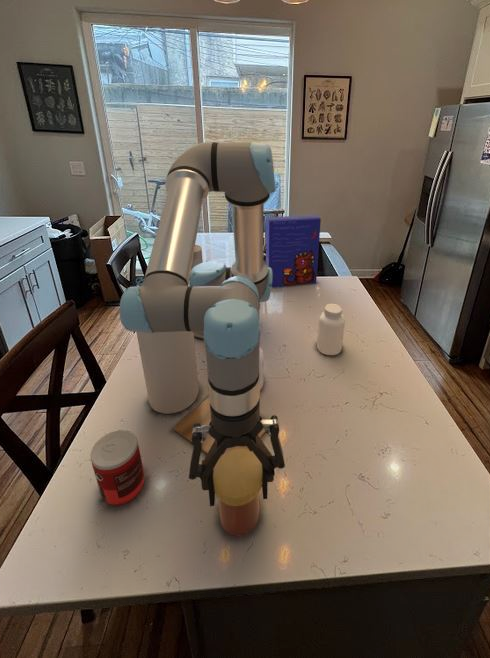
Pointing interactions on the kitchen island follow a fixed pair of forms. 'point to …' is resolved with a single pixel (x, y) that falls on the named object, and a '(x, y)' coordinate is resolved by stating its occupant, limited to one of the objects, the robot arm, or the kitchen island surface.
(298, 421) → the kitchen island surface
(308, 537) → the kitchen island surface
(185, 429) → the wooden board
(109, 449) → the canned food
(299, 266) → the cereal box
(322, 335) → the pill bottle
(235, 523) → the jam jar
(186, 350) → the cylinder vase
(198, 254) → the pillar candle
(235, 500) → the jar lid
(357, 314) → the kitchen island surface
